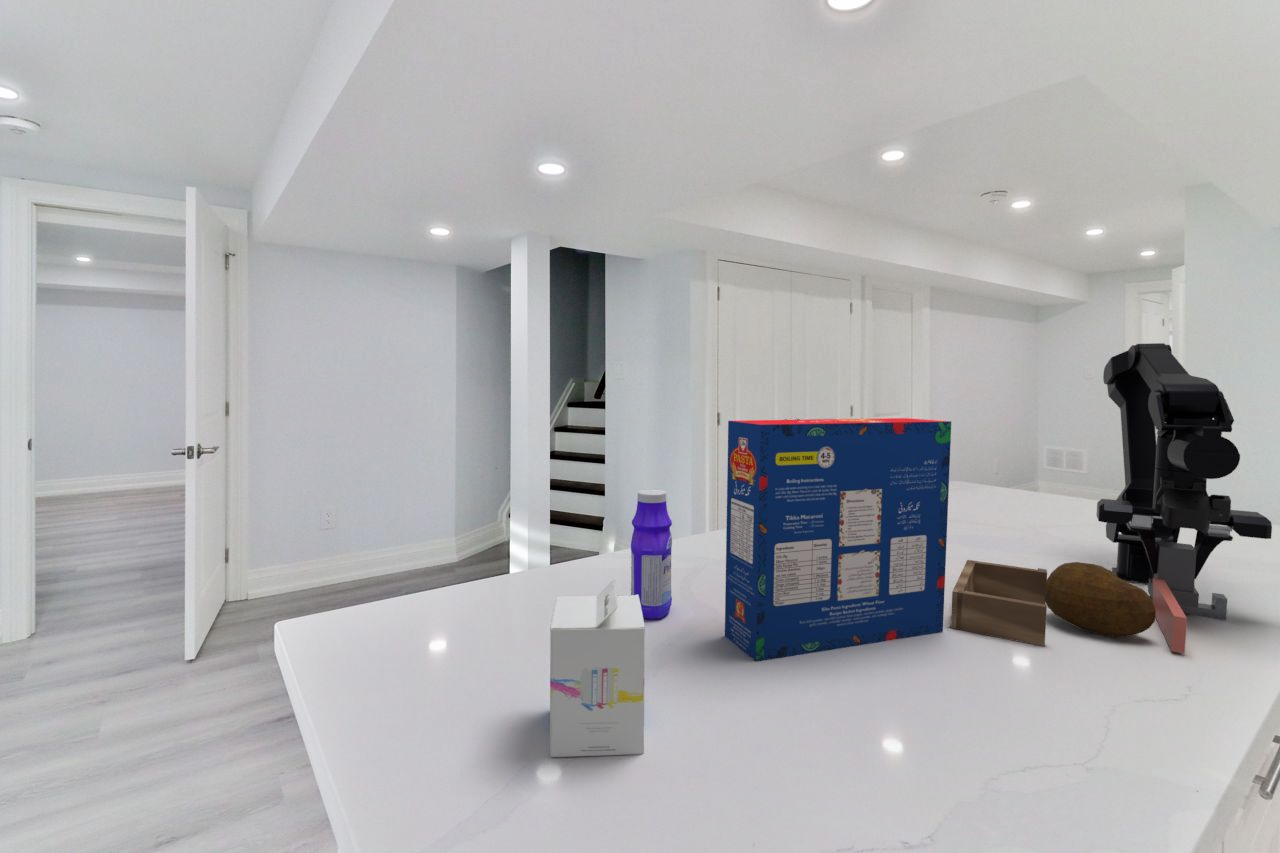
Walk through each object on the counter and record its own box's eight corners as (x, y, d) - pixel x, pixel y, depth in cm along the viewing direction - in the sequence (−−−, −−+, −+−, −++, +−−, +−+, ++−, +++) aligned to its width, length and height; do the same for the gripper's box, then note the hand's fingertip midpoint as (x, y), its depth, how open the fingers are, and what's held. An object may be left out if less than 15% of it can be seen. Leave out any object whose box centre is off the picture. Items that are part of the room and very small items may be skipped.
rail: (1037, 586, 102) (1037, 568, 102) (1221, 614, 90) (1223, 594, 89) (1036, 590, 100) (1037, 571, 100) (1225, 620, 88) (1227, 599, 87)
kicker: (1147, 599, 95) (1151, 539, 94) (1190, 605, 92) (1195, 544, 92) (1171, 651, 76) (1176, 577, 76) (1226, 661, 74) (1232, 584, 73)
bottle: (666, 623, 85) (668, 496, 84) (626, 620, 86) (626, 494, 85) (674, 605, 92) (676, 487, 91) (636, 602, 93) (637, 486, 92)
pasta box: (899, 611, 90) (906, 418, 88) (942, 632, 83) (951, 421, 81) (724, 636, 81) (728, 420, 79) (755, 662, 73) (760, 424, 72)
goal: (966, 590, 99) (967, 559, 99) (1045, 603, 94) (1047, 571, 93) (950, 627, 84) (952, 591, 84) (1044, 646, 78) (1046, 607, 78)
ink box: (554, 708, 63) (553, 577, 62) (637, 705, 63) (638, 575, 62) (548, 760, 54) (548, 608, 53) (645, 755, 55) (646, 606, 54)
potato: (1114, 651, 77) (1118, 581, 76) (1025, 617, 88) (1028, 556, 88) (1159, 642, 80) (1164, 575, 79) (1068, 610, 91) (1071, 551, 90)
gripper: (1104, 470, 89) (1098, 578, 90) (1289, 482, 78) (1279, 604, 80) (1099, 462, 98) (1093, 560, 99) (1263, 472, 88) (1255, 581, 89)
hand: (1173, 575), depth 91 cm, fingers closed on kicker, 4 cm apart
